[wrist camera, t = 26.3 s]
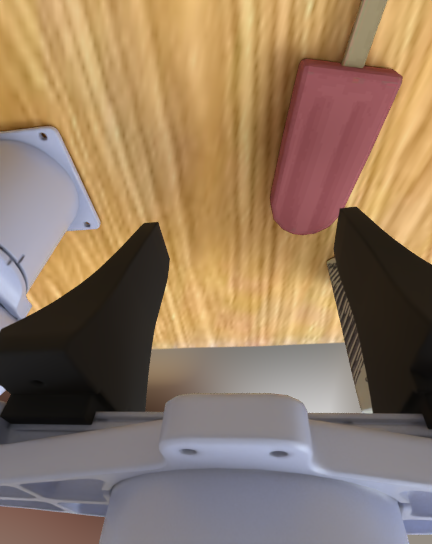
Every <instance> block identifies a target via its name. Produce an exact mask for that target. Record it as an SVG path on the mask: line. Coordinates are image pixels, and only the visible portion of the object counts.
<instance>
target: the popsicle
mask: <svg viewBox="0 0 432 544" xmlns="http://www.w3.org/2000/svg"><path fill="white" fill-rule="evenodd" d="M386 3H387V0H361V3H360V6H359V9H358V12H357V16H356V19H355V22H354V25H353V28H352V31H351V35H350V38H349V41H348V44H347V47H346V50H345V54H344V57H343V60H342V63H337V62H329V61H321V60H313V59H304V60H302V61H301V62H300V64H299V67H298V71H297V76H296V80H295V85H294V89H293V93H292V98H291V102H290V106H289V111H288V115H287V119H286V124H285V128H284V132H283V137H282V142H281V147H280V151H279V156H278V161H277V166H276V171H275V176H274V181H273V186H272V190H271V195H270V201H271V208H272V213H273V218H274V220H275V221H276V222H277V223H278V225H279V226H280V227H281V228H282V229H283V230H286V231H288V232H290V233H292V234H298V235H307V234H314V233H317V232H319V231H321V230H323V229H325V228H328V227H329V226H330V225H331V224H332V223H333V222H334V221H335V220H336V219H337V218H338V216H339V210H340V208H344V207H345V205H346V203H347V201H348V198H349V196H350V194H351V192H352V190H353V188H354V186H355V184H356V182H357V180H358V178H359V175H360V173H361V171H362V169H363V167H364V165H365V163H366V161H367V159H368V157H369V154H370V152H371V150H372V148H373V146H374V143H375V141H376V139H377V137H378V135H379V132H380V130H381V128H382V126H383V123H384V121H385V119H386V117H387V115H388V112H389V110H390V108H391V106H392V103H393V101H394V99H395V97H396V95H397V92H398V90H399V88H400V86H401V83H402V76H401V75H400V74H398V73H397V72H396V71H394V70H393V69H385V68H377V67H369V66H364V64H365V62H366V59H367V56H368V53H369V50H370V48H371V45H372V42H373V39H374V36H375V34H376V31H377V28H378V25H379V23H380V20H381V17H382V14H383V11H384V9H385V6H386Z"/></svg>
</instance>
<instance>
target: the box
mask: <svg viewBox="0 0 432 544" xmlns="http://www.w3.org/2000/svg"><path fill="white" fill-rule="evenodd" d="M327 267H328V271H329V275H330V279H331V284H332V288H333V293H334V297H335V301H336V305H337V309H338V314H339V318H340V322H341V327H342V331H343V336H344V340H345V345H346V349H347V354H348V357H349V362H350V367H351V371H352V375H353V380H354V384H355V388H356V392H357V396H358V400H359V404H360V408H361V412H362V413H373V411H372V405H371V398H370V392H369V387H368V381H367V376H366V370H365V365H364V360H363V355H362V350H361V345H360V341H359V336H358V332H357V327H356V323H355V320H354V317H353V314H352V311H351V308H350V305H349V302H348V299H347V296H346V294H345V291H344V288H343V285H342V282H341V279H340V276H339V273H338V270H337V265H336V260H335V258H333V259H331V260H329V261H327Z"/></svg>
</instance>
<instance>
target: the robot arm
mask: <svg viewBox="0 0 432 544" xmlns="http://www.w3.org/2000/svg"><path fill="white" fill-rule="evenodd" d="M41 133H44V134H45V135H46V136H47V138H45V137H43V136H42V134H41ZM86 222H88V223H89V224H87V223H86ZM100 224H101V223H100V220H99V218H98V215H97V213H96V211H95V209H94V207H93V205H92V202H91V200H90V198H89V196H88V194H87V192H86V189H85V187H84V185H83V183H82V181H81V179H80V176H79V174H78V172H77V170H76V168H75V166H74V163H73V161H72V159H71V157H70V155H69V153H68V151H67V148H66V146H65V144H64V142H63V140H62V138H61V135H60V133H59V132H58V130H57V129H56V128H55V127H53V126H42V127H34V128H26V129H18V130H10V131H2V132H0V395H1V394H2V393H3V392H4V391H5V390H7V391H8V392H9V393H11V396H10V398H9V400H8V401H7V403H5V402H2V401H0V506H6V507H17V508H28V509H37V510H47V511H56V512H65V513H74V514H82V515H91V516H100V517H105V521H104V525H103V529H102V533H101V537H100V541H99V544H409V541H408V538H407V534H419V535H420V534H421V535H422V534H423V535H428V534H432V265H431V264H430V263H428V262H426V261H425V260H423V259H421V258H420V257H418V256H417V255H415V254H414V253H412V252H411V251H409V250H408V249H407V248H405V247H404V246H402V245H401V244H400V243H398V242H397V241H396V240H394V239H393V238H392V237H391V236H389V235H388V234H387V233H386V232H385V231H383V230H382V229H381V228H380V227H379V226H377V225H376V224H375V223H374V222H373V221H372V220H371V219H370V218H368V217H367V216H366V215H365V214H364V213H363V212H362V211H361V210H360V209H358V208H357V207H349V208H340V210H339V216H338V223H337V230H336V236H335V243H334V254H335V260H336V265H337V270H338V273H339V276H340V279H341V282H342V285H343V288H344V291H345V294H346V296H347V299H348V302H349V305H350V308H351V311H352V314H353V317H354V320H355V323H356V327H357V332H358V336H359V341H360V345H361V350H362V355H363V360H364V365H365V370H366V376H367V381H368V387H369V392H370V398H371V405H372V411H373V413H307V410H306V408H305V406H304V404H303V403H302V402H300V401H299V400H297V399H295V398H292V397H290V396H288V395H279V394H271V393H263V394H261V393H259V394H258V393H251V394H250V393H246V394H245V393H236V394H235V393H234V394H233V393H232V394H231V393H230V394H228V393H225V394H223V393H222V394H221V393H220V394H218V393H216V394H215V393H213V394H212V393H210V394H206V393H205V394H204V393H203V394H201V393H200V394H199V393H197V394H186V395H178V396H176V397H175V398H173V399H171V400H170V401H168V402H167V403H166V404H165V410H164V412H145V406H146V393H147V382H148V372H149V364H150V356H151V349H152V342H153V335H154V329H155V325H156V321H157V317H158V313H159V309H160V306H161V302H162V298H163V295H164V291H165V287H166V283H167V278H168V271H169V261H170V258H169V255H168V252H167V249H166V246H165V242H164V239H163V236H162V233H161V230H160V226H159V223H158V222H153V223H144V224H143V225H142V226H141V227H140V228H139V229H138V230H137V231H136V232H135V233H134V234H133V235H132V236H131V237H130V238H129V240H128V241H127V242H126V243H125V244H124V245H123V246H122V247H121V248H120V249H119V250H118V251H117V252H116V253H115V254H114V255H113V256H112V257H111V258H110V259H109V260H108V261H107V262H106V263H105V264H104V265H103V266H102V267H100V268H99V269H98V270H97V271H96V272H95V273H94V274H92V275H91V276H90V277H89V278H87V279H86V280H85V281H84V282H82V283H81V284H80V285H78V286H77V287H75V288H74V289H72V290H71V291H70V292H68V293H67V294H65V295H64V296H62V297H61V298H59V299H58V300H56V301H54V302H53V303H51V304H49V305H48V306H46V307H44V308H42V309H41V310H39V311H37V312H35V313H33V314H31V315H29V316H27V314H28V312H29V311H30V309H31V307H32V305H31V303H30V302H29V301H28V299H27V297H26V294H27V292H28V291H29V289H30V287H31V286H32V284H33V283H34V281H35V280H36V278H37V276H38V275H39V273H40V272H41V270H42V269H43V267H44V265H45V264H46V262H47V261H48V259H49V258H50V256H51V254H52V253H53V251H54V250H55V248H56V246H57V245H58V243H59V242H60V240H61V239H62V237H63V235H64V234H65V232H66V231H75V230H88V229H97V228H99V226H100ZM26 316H27V317H26Z"/></svg>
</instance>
